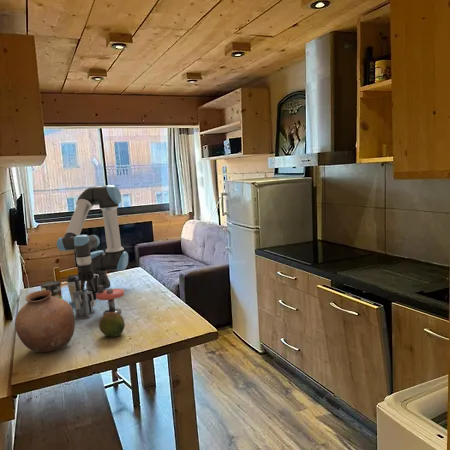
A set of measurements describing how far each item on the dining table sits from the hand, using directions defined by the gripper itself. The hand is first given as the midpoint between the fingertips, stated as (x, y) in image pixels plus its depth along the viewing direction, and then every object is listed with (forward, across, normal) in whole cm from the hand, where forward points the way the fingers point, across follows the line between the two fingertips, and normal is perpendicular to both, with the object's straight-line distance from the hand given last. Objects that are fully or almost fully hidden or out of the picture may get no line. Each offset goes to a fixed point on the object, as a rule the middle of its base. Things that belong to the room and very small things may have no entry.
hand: (89, 305), depth 221 cm
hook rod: (-3, 0, -7) cm, 7 cm away
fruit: (+2, +24, -39) cm, 46 cm away
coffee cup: (+2, -13, +17) cm, 21 cm away
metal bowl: (+2, +15, -10) cm, 18 cm away
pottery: (+2, -1, -49) cm, 49 cm away
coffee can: (+2, -23, +7) cm, 24 cm away
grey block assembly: (+2, 0, -9) cm, 9 cm away
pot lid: (-8, +15, -10) cm, 20 cm away
